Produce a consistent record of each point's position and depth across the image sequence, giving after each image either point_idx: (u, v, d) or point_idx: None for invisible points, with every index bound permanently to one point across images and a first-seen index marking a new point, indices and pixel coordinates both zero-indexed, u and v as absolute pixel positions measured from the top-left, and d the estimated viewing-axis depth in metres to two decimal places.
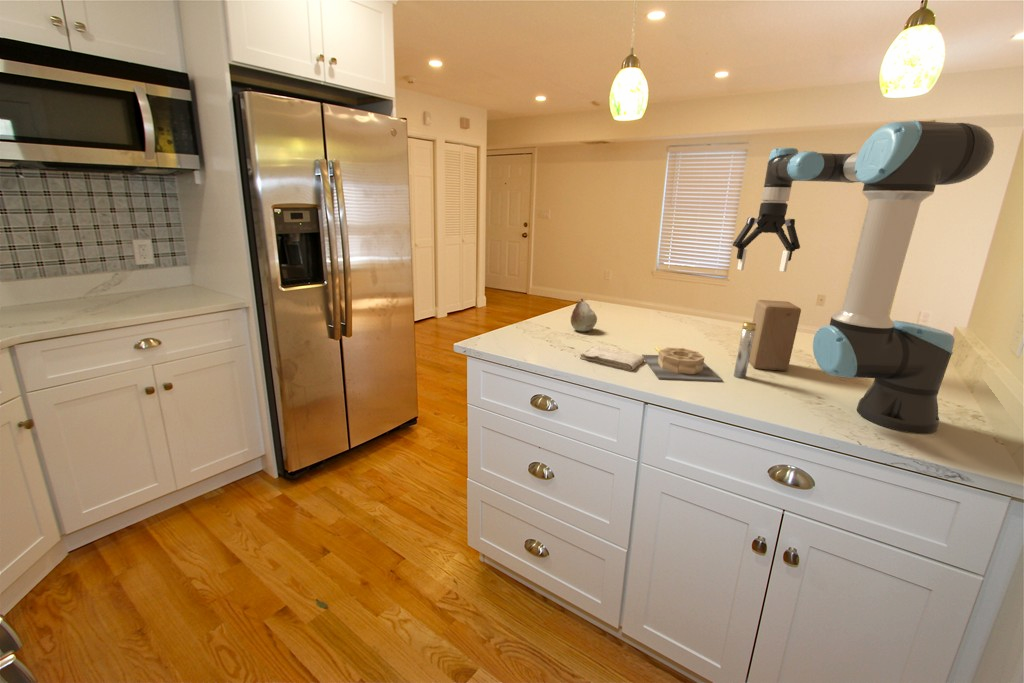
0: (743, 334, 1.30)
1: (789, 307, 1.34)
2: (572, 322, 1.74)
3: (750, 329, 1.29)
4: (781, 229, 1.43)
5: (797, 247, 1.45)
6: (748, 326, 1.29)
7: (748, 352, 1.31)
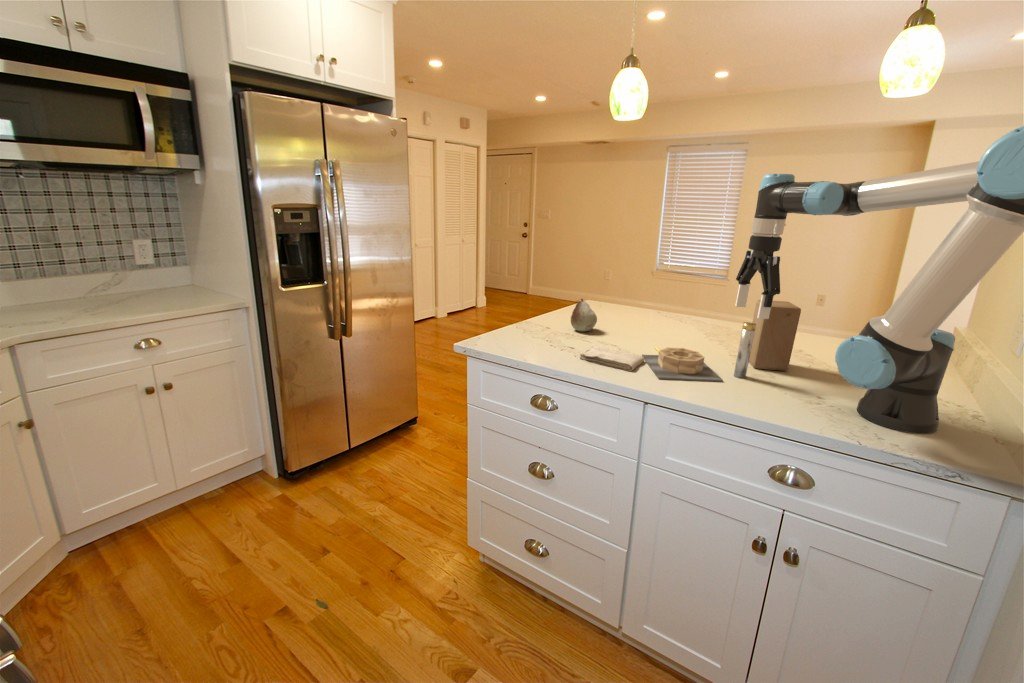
0: (743, 334, 1.30)
1: (789, 307, 1.34)
2: (572, 322, 1.74)
3: (750, 329, 1.29)
4: (759, 266, 1.22)
5: (768, 291, 1.18)
6: (748, 326, 1.29)
7: (748, 352, 1.31)
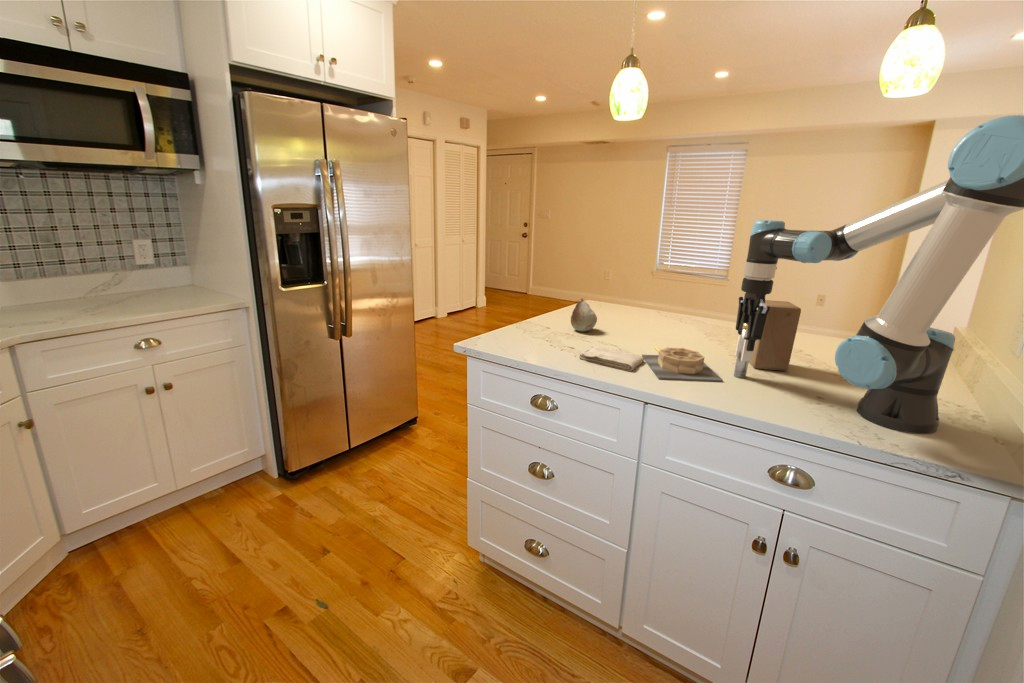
0: (743, 334, 1.30)
1: (789, 307, 1.34)
2: (572, 322, 1.74)
3: None
4: (749, 310, 1.27)
5: (750, 336, 1.26)
6: None
7: None
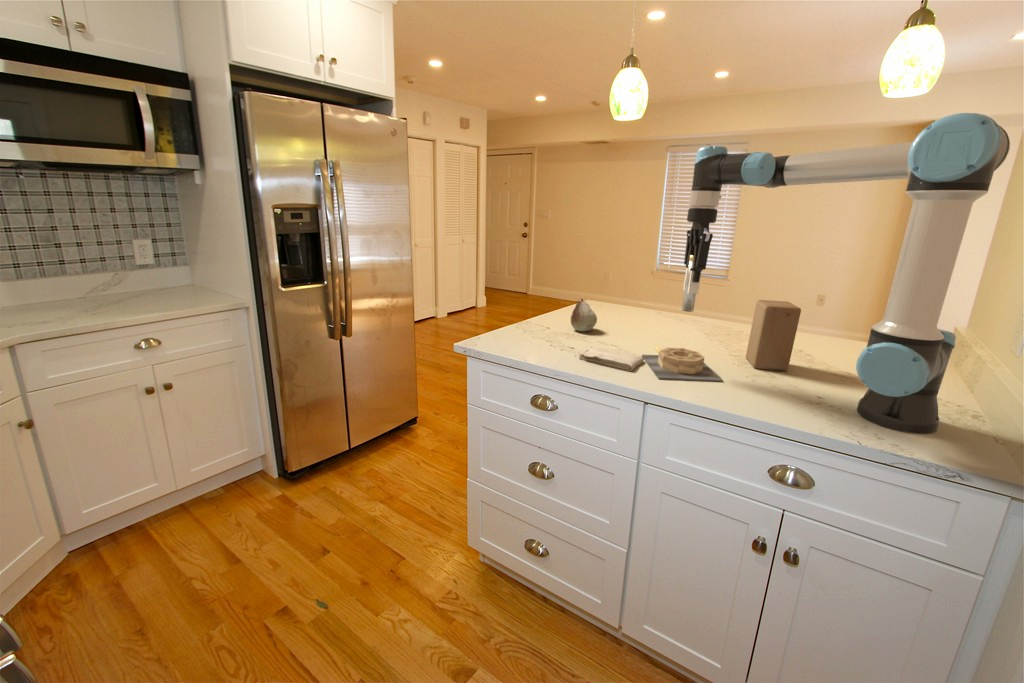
0: (689, 266, 1.30)
1: (789, 307, 1.34)
2: (572, 322, 1.74)
3: None
4: (694, 240, 1.27)
5: (695, 266, 1.26)
6: None
7: None
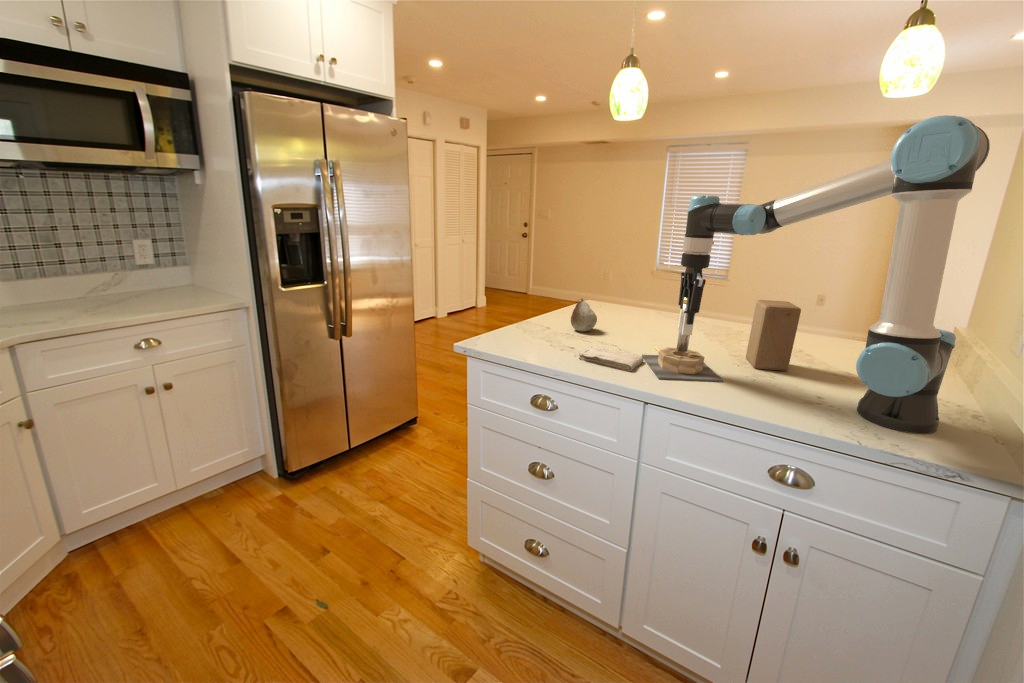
0: (683, 308, 1.33)
1: (789, 307, 1.34)
2: (572, 322, 1.74)
3: None
4: (688, 284, 1.30)
5: (689, 310, 1.30)
6: None
7: None
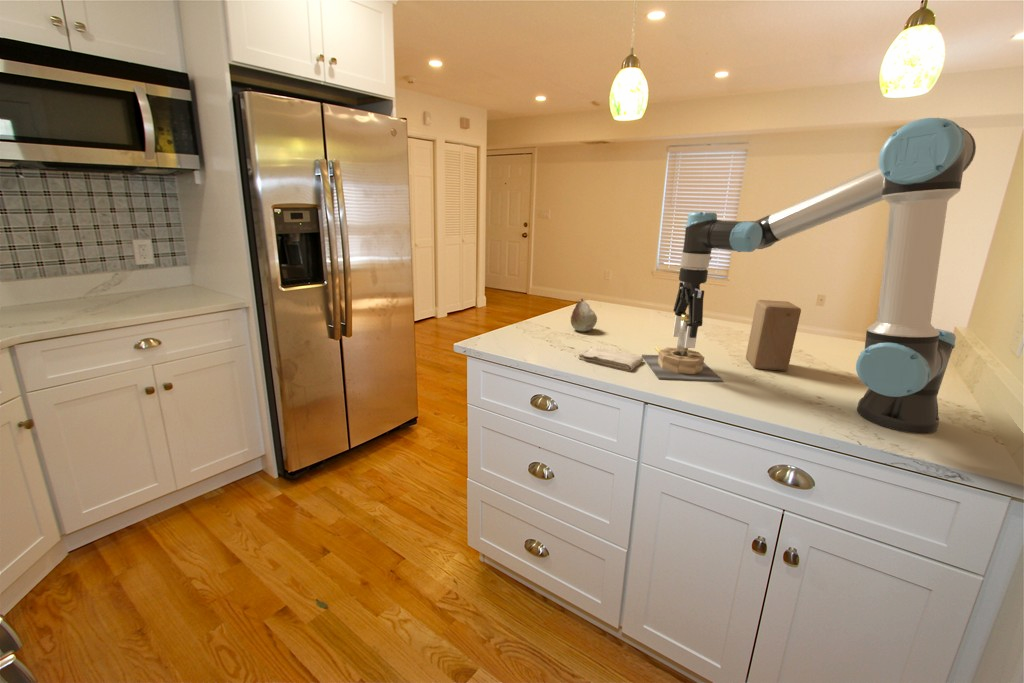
0: (681, 325, 1.35)
1: (789, 307, 1.34)
2: (572, 322, 1.74)
3: (687, 320, 1.34)
4: (687, 298, 1.30)
5: (692, 323, 1.27)
6: (685, 317, 1.34)
7: None
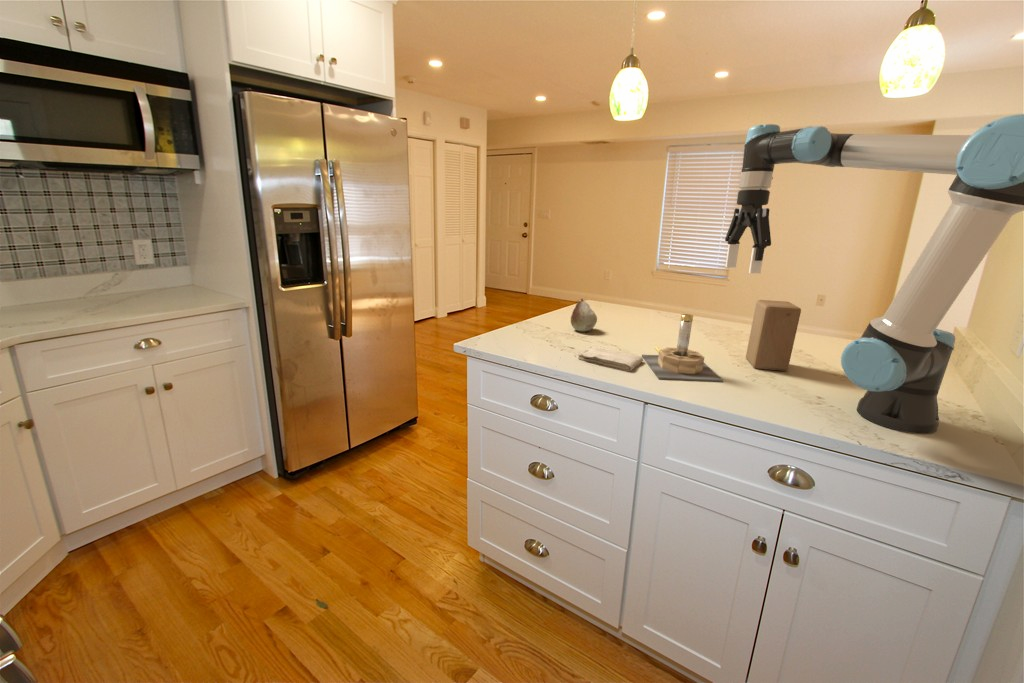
0: (681, 325, 1.35)
1: (789, 307, 1.34)
2: (572, 322, 1.74)
3: (687, 321, 1.34)
4: (748, 221, 1.21)
5: (759, 243, 1.16)
6: (685, 317, 1.33)
7: (686, 343, 1.36)
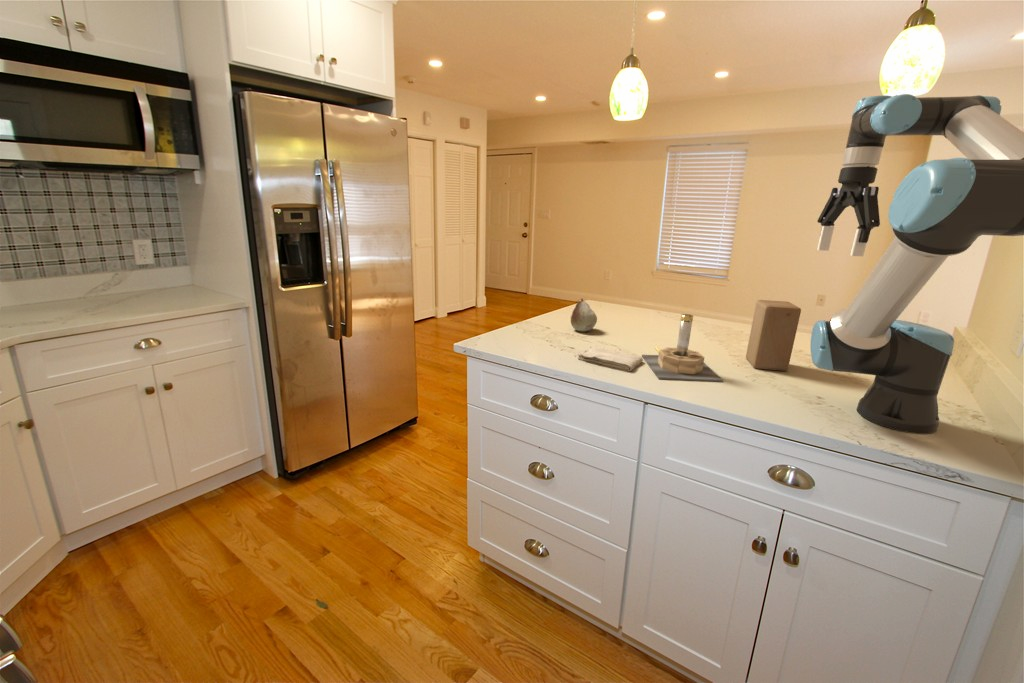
0: (681, 325, 1.35)
1: (789, 307, 1.34)
2: (572, 322, 1.74)
3: (687, 321, 1.34)
4: (852, 200, 1.14)
5: (866, 224, 1.09)
6: (685, 317, 1.33)
7: (686, 343, 1.36)
